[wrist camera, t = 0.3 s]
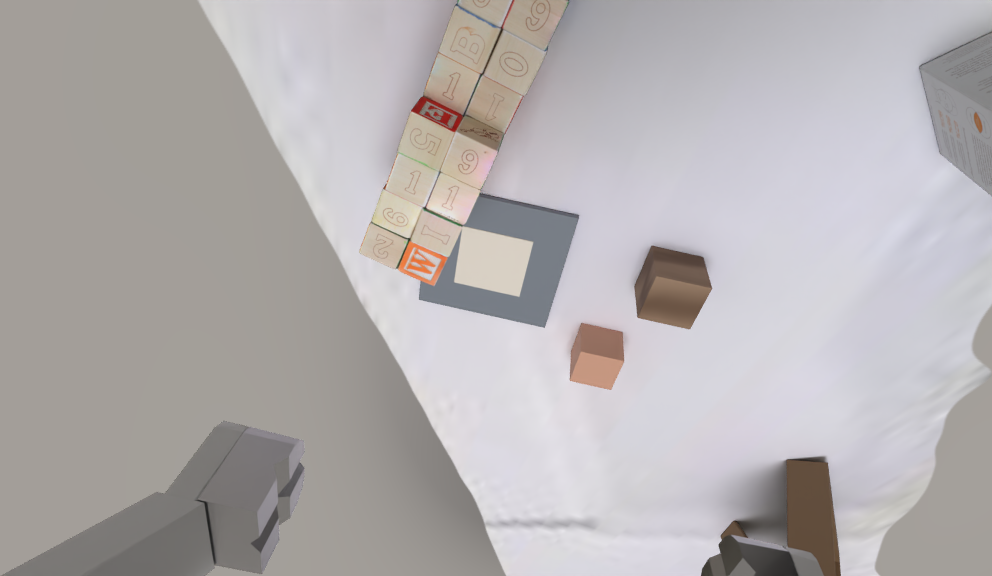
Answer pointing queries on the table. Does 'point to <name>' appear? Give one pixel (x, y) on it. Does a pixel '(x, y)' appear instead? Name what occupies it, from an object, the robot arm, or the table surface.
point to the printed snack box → (458, 130)
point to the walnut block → (671, 287)
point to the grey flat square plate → (505, 261)
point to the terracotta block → (596, 356)
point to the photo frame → (808, 514)
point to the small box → (963, 107)
